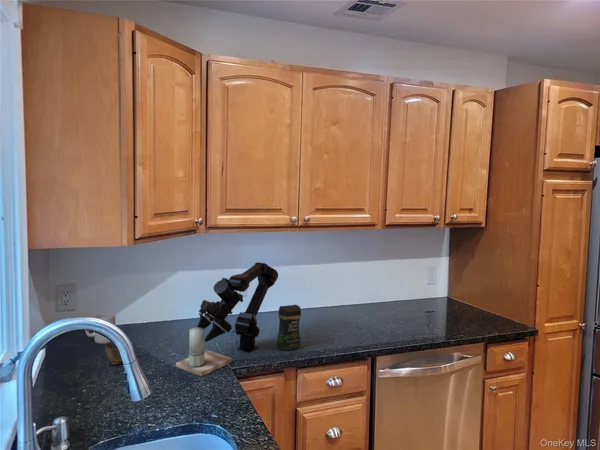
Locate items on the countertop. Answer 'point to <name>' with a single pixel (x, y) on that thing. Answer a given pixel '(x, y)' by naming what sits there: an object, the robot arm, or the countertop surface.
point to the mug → (99, 338)
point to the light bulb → (196, 347)
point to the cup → (112, 354)
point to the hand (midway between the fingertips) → (200, 337)
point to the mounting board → (205, 363)
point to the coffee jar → (289, 327)
